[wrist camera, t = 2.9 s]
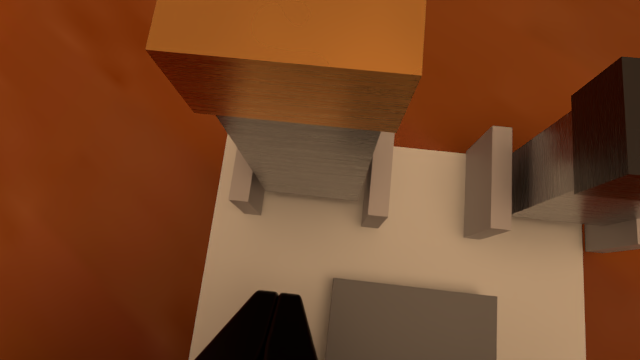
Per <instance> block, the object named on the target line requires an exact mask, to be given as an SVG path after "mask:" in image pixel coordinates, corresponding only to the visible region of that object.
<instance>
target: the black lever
mask: <svg viewBox="0 0 640 360" xmlns="http://www.w3.org/2000/svg"><path fill="white" fill-rule="evenodd" d="M571 102H572V111H570V112H569V113H568V114H566V115H565V116H564V117H562V118H561V119H559V120H558V121H557V122H555V123H554V124H552V125H551V126H550V127H548V128H547V129H545V130H544V131H543V132H541V133H540V134H538V135H537V136H536V137H534V138H533V139H532V140H530V141H529V142H527V143H526V144H525V145H523V146H522V147H520V148H519V149H518V150H516V151H515V152H513V153H512V217H521V218H530V219H539V220H549V221H558V222H567V223H577V224H586V225H596V226H607V225H611V224H616V223H621V222H625V221H630V220H635V219H639V218H640V58H631V57H621V58H619V59H618V60H617V61H615V62H614V63H613V64H612V65H610V66H609V67H608V68H606V69H605V70H604V71H603V72H601V73H600V74H599V75H597V76H596V77H595V78H594V79H592V80H591V81H590V82H589V83H587V84H586V85H585V86H583V87H582V88H581V89H580V90H578V91H577V92H576V93H574V94H573V95H572V96H571Z"/></svg>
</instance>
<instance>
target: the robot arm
mask: <svg viewBox="0 0 640 360" xmlns="http://www.w3.org/2000/svg"><path fill="white" fill-rule="evenodd" d="M194 360H318V357H317V354H316V350H315V346H314V342H313V339H312V335H311V331H310V327H309V323H308V320H307V316H306V312H305V308H304V305H303V301H302V298H301V296H300V295H298V294H291V293H280V294H279V295H278V293H277V292H274V291H266V290H258V291H256V292H255V293H254V294H253V295H252V296H251V297H250V298H249V299H248V301H247V302H246V303H245V304H244V305H243V306H242V307H241V308H240V309H239V311H238V312H237V313H236V314H235V315H234V316H233V317H232V318H231V319H230V321H229V322H228V323H227V324H226V325H225V326H224V327H223V328H222V329H221V331H220V332H219V333H218V334H217V335H216V336H215V337H214V338H213V339H212V341H211V342H210V343H209V344H208V345H207V346H206V347H205V348H204V349H203V351H202V352H201V353H200V354H199V355H198V356H197V357H196V358H195V359H194Z"/></svg>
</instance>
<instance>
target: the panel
mask: <svg viewBox="0 0 640 360" xmlns="http://www.w3.org/2000/svg"><path fill="white" fill-rule="evenodd" d="M393 146H394V133H390V132H381V133H380V136H379V139H378V142H377V145H376V148H375V151H374V153H373V156H372V159H371V162H370V165H369V168H368V171H367V174H366V177H365V180H364V182H363V185H362V188H361V191H360V194H359V197H358V200H357V201H351V200H342V199H333V198H324V197H314V196H305V195H296V194H286V193H277V192H268V191H265V189H264V188H263V186H262V185H261V183H260V182H259V180H258V179H257V177H256V176H255V174H254V173H253V171H252V170H251V168H250V167H249V165H248V163H247V162H246V160H245V159H244V157H243V156H242V154H241V153H240V151H239V150H238V148H237V147H236V145H235V144H234V142H233V141H232V139H231V138H230V136H229V134H228V135H227V141H226V147H225V153H224V158H223V164H222V170H221V176H220V182H219V187H218V193H217V199H216V205H215V210H214V216H213V222H212V228H211V234H210V239H209V245H208V251H207V257H206V262H205V268H204V274H203V280H202V285H201V291H200V297H199V303H198V309H197V314H196V320H195V326H194V332H193V337H192V343H191V349H190V355H189V360H194V359H195V358H196V357H197V356H198V355H199V354H200V353H201V352H202V351H203V349H204V348H205V347H206V346H207V345H208V344H209V343H210V342H211V341H212V339H213V338H214V337H215V336H216V335H217V334H218V333H219V332H220V331H221V329H222V328H223V327H224V326H225V325H226V324H227V323H228V322H229V321H230V319H231V318H232V317H233V316H234V315H235V314H236V313H237V312H238V311H239V309H240V308H241V307H242V306H243V305H244V304H245V303H246V302H247V301H248V299H249V298H250V297H251V296H252V295H253V294H254V293H255V292H256V291H258V290H266V291H274V292H277V293H278V295H279V294H280V293H291V294H298V295H300V296H301V298H302V301H303V305H304V308H305V312H306V316H307V320H308V323H309V327H310V331H311V335H312V339H313V342H314V346H315V350H316V354H317V357H318V360H586V344H585V312H584V281H583V249H582V224H577V223H567V222H558V221H549V220H539V219H530V218H521V217H512V128H510V127H500V126H492V127H491V128H490V129H489V130H488V131H487V132H486V133H485V134H484V135H483V136H482V137H481V138H480V139H479V140H477V141H476V142H475V143H474V144H473V145H472V146H471V147H470V148H469V149H468V150H467V151H466V154H463V153H453V152H443V151H433V150H423V149H413V148H403V147H393ZM634 249H640V218H639V219H635V220H630V221H625V222H621V223H616V224H611V225H607V226H596V225H586V224H585V251H588V252H598V253H608V252H617V251H625V250H634Z"/></svg>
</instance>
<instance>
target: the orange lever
mask: <svg viewBox="0 0 640 360" xmlns="http://www.w3.org/2000/svg"><path fill="white" fill-rule="evenodd" d="M425 14H426V0H157V2H156V6H155V11H154V15H153V19H152V24H151V28H150V32H149V36H148V41H147V45H146V49H145V50H146V51H147V52H148V54H149V55H150V56H151V58H152V59H153V60H154V61H155V63H156V64H157V65H158V67H159V68H160V69H161V70H162V72H163V73H164V74H165V76H166V77H167V78H168V80H169V81H170V82H171V83H172V85H173V86H174V87H175V89H176V90H177V91H178V93H179V94H180V95H181V96H182V98H183V99H184V100H185V102H186V103H187V104H188V105H189V107H190V108H191V109H192V111H193V112H194V113H200V114H210V115H216V116H217V118H218V119H219V121H220V122H221V124H222V125H223V127H224V128H225V130H226V131H227V133H228V134H229V136H230V138H231V139H232V141H233V142H234V144H235V145H236V147H237V148H238V150H239V151H240V153H241V154H242V156H243V157H244V159H245V160H246V162H247V163H248V165H249V167H250V168H251V170H252V171H253V173H254V174H255V176H256V177H257V179H258V180H259V182H260V183H261V185H262V186H263V188H264V189H265V191H268V192H277V193H286V194H296V195H305V196H314V197H324V198H333V199H342V200H351V201H357V200H358V197H359V194H360V191H361V188H362V185H363V182H364V180H365V177H366V174H367V171H368V168H369V165H370V162H371V159H372V156H373V153H374V151H375V148H376V145H377V142H378V139H379V136H380V133H381V132H390V133H396V132H397V130H398V127H399V125H400V123H401V121H402V119H403V116H404V114H405V112H406V110H407V107H408V105H409V103H410V101H411V98H412V96H413V94H414V92H415V89H416V87H417V85H418V83H419V80H420V78H421V76H422V62H423V46H424V30H425Z"/></svg>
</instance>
